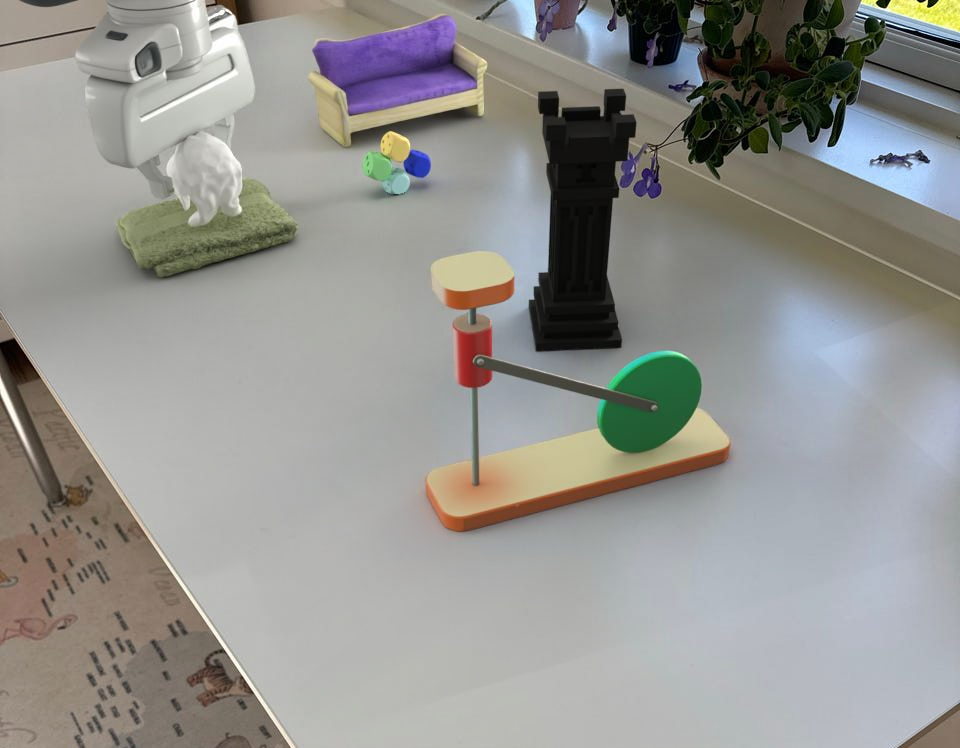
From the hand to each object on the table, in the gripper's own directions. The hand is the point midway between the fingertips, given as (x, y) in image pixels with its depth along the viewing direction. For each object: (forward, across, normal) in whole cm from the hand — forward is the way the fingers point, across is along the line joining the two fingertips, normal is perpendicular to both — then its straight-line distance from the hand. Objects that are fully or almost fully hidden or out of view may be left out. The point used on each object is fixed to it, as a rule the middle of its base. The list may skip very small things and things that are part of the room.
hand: (194, 178), depth 108 cm
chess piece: (+7, -2, +43) cm, 44 cm away
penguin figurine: (+4, 0, 0) cm, 4 cm away
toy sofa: (+7, -37, +2) cm, 38 cm away
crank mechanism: (+7, +18, +53) cm, 56 cm away
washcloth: (+7, 0, 0) cm, 7 cm away
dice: (+7, -20, +12) cm, 24 cm away
